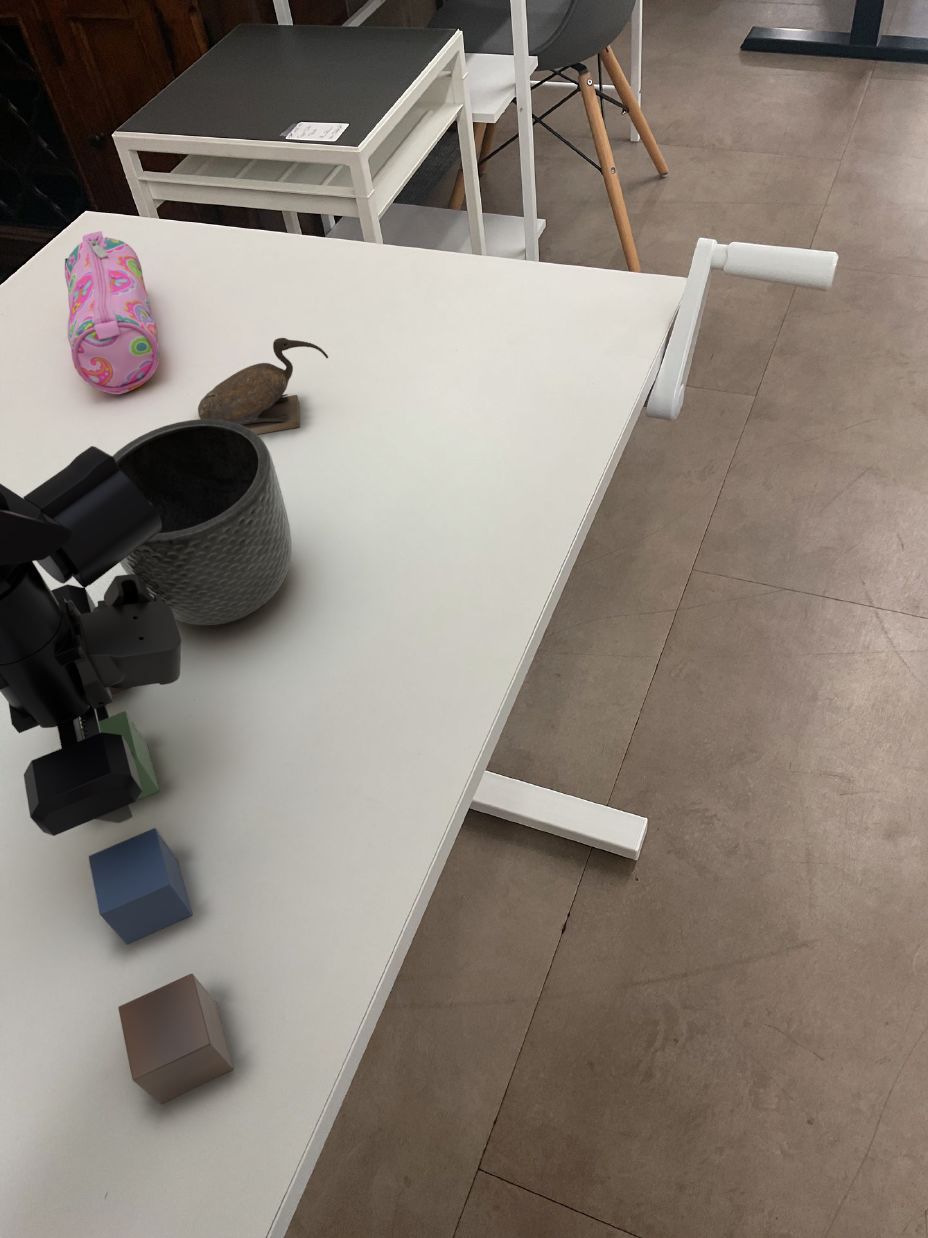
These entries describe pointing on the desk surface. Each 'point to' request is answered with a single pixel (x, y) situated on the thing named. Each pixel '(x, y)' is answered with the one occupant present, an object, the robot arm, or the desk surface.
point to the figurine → (257, 395)
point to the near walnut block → (174, 1039)
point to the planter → (209, 520)
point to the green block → (133, 750)
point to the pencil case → (109, 315)
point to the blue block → (139, 886)
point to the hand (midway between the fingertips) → (113, 768)
